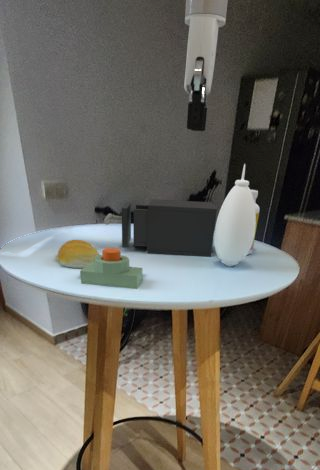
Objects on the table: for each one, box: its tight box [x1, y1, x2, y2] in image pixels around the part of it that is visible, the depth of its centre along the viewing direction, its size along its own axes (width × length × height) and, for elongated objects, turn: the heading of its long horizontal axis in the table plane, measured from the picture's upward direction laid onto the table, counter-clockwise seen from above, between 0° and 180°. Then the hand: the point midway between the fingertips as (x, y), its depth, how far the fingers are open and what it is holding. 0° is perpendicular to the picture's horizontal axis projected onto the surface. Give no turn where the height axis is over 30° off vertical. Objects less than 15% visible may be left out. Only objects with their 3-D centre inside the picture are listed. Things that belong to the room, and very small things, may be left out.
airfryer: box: [146, 198, 218, 258], centre depth 84 cm, size 15×10×10 cm
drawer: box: [103, 202, 148, 248], centre depth 84 cm, size 18×9×8 cm, turn 89°
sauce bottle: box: [213, 163, 256, 267], centre depth 72 cm, size 8×8×18 cm
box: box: [79, 254, 144, 289], centre depth 64 cm, size 10×6×4 cm, turn 82°
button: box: [102, 247, 121, 261], centre depth 63 cm, size 3×3×2 cm
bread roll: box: [56, 239, 100, 269], centre depth 73 cm, size 8×9×4 cm
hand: (196, 130), depth 77 cm, fingers open, 9 cm apart
